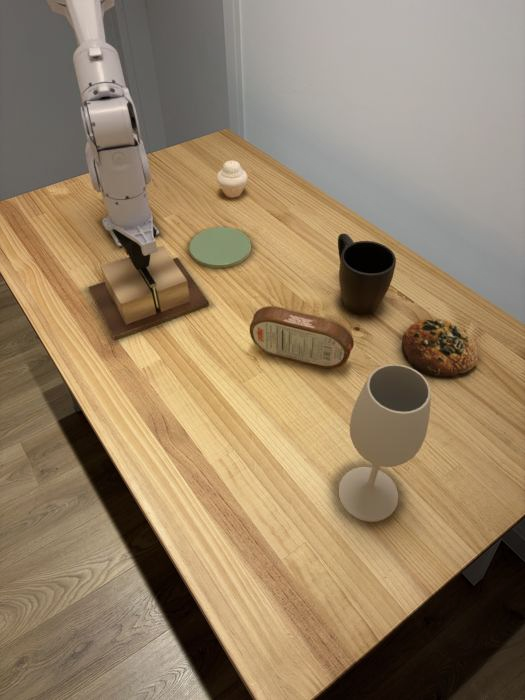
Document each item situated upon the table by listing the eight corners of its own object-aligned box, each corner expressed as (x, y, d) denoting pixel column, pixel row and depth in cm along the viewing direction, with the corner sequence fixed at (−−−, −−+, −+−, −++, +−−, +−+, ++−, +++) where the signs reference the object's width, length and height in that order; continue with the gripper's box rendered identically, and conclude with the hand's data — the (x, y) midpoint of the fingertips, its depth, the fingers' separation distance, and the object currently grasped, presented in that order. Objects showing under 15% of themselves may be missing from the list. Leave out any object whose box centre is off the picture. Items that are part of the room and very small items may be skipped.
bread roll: (393, 366, 80) (401, 340, 77) (406, 323, 88) (415, 298, 85) (470, 390, 78) (482, 364, 75) (477, 344, 86) (488, 319, 83)
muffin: (253, 189, 112) (252, 157, 107) (239, 204, 109) (238, 172, 103) (226, 182, 114) (224, 150, 109) (212, 197, 110) (209, 165, 105)
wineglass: (331, 468, 70) (350, 360, 54) (391, 464, 70) (427, 354, 54) (342, 526, 65) (367, 424, 49) (406, 520, 65) (451, 418, 49)
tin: (350, 362, 81) (357, 321, 75) (345, 377, 79) (352, 337, 73) (254, 338, 85) (253, 297, 79) (247, 352, 83) (246, 312, 77)
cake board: (89, 290, 92) (81, 265, 88) (178, 260, 97) (174, 236, 93) (114, 340, 85) (106, 315, 81) (209, 305, 90) (206, 280, 86)
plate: (180, 241, 101) (179, 237, 100) (234, 224, 104) (233, 220, 104) (205, 276, 94) (204, 272, 94) (261, 256, 98) (261, 252, 97)
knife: (119, 252, 96) (113, 227, 92) (127, 249, 97) (121, 225, 93) (153, 310, 86) (148, 285, 83) (162, 307, 87) (157, 282, 83)
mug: (359, 268, 96) (366, 222, 89) (395, 313, 88) (406, 266, 81) (316, 280, 94) (320, 234, 87) (350, 327, 86) (357, 280, 79)
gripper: (81, 171, 79) (102, 247, 89) (113, 224, 70) (132, 302, 80) (128, 158, 81) (143, 235, 91) (165, 208, 72) (177, 286, 82)
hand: (141, 265), depth 86 cm, fingers closed, pressing on knife
